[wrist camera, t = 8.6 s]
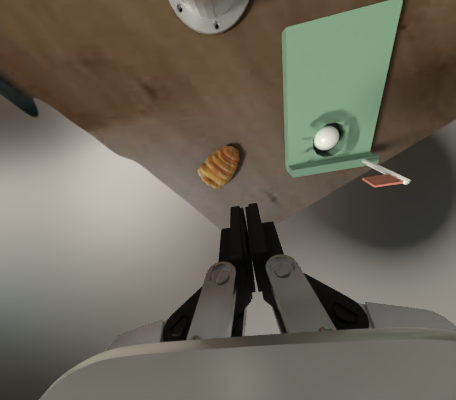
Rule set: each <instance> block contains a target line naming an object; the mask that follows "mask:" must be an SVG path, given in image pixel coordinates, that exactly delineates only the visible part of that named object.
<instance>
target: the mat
mask: <svg viewBox="0 0 456 400" xmlns="http://www.w3.org/2000/svg"><path fill="white" fill-rule="evenodd" d="M402 3H403V0H388V1H385V2H381V3H377V4H373V5H370V6H366V7H362V8H358V9H354V10H351V11H347V12H343V13H339V14H335V15H332V16H328V17H324V18H320V19H317V20H313V21H309V22H305V23H301V24H298V25H294V26H290V27H286V28H285V30H284V31H283V32H282V60H283V95H284V130H285V165H286V170H287V171H288V172H289V174H290V175H291V176H292V178H293V177H300V176H306V175H312V174H318V173H324V172H330V171H336V170H342V169H348V168H355V167H361V166H367V165H365V164H363V163H362V162H361V161H362V160H363V159H367V160H369V161H371V162H373V163H376V164H378V160H379V155H377V154H374V153H372V152H370V150H371V145H372V141H373V136H374V131H375V127H376V122H377V118H378V113H379V108H380V104H381V99H382V95H383V90H384V85H385V81H386V76H387V72H388V67H389V63H390V58H391V53H392V49H393V44H394V40H395V35H396V30H397V26H398V21H399V17H400V12H401V7H402ZM335 123H337V124H338V125H337V124H335ZM324 126H332V127H334V128H336V129H337V130H338V132H339V138H340V139H339V140H338V142H337V144H336V145H335V147H334V148H331V149H328V150H320V149H318V148H316V147H315V145H314V143H313V139H314V137H315V136H316V134H317V132H318V130H320V129H321V128H322V127H324ZM338 126H339V127H338ZM339 128H340V129H339ZM340 130H341V132H340ZM327 151H328V152H327ZM316 152H317V153H316ZM324 152H325V153H324Z"/></svg>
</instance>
